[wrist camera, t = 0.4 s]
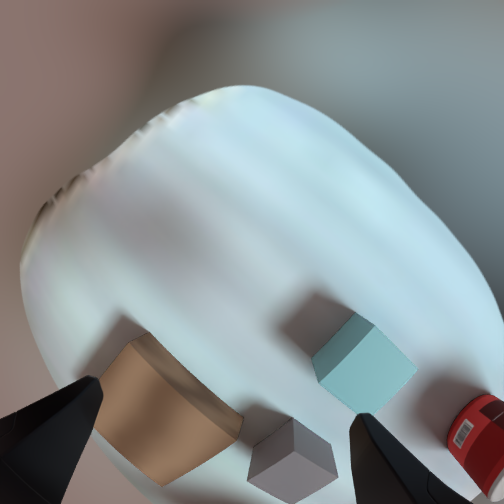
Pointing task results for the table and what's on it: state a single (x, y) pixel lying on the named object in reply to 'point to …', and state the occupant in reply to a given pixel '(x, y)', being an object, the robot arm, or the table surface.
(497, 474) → the canned food
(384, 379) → the teal cube
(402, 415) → the table surface
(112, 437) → the walnut base block
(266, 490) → the gray cube
